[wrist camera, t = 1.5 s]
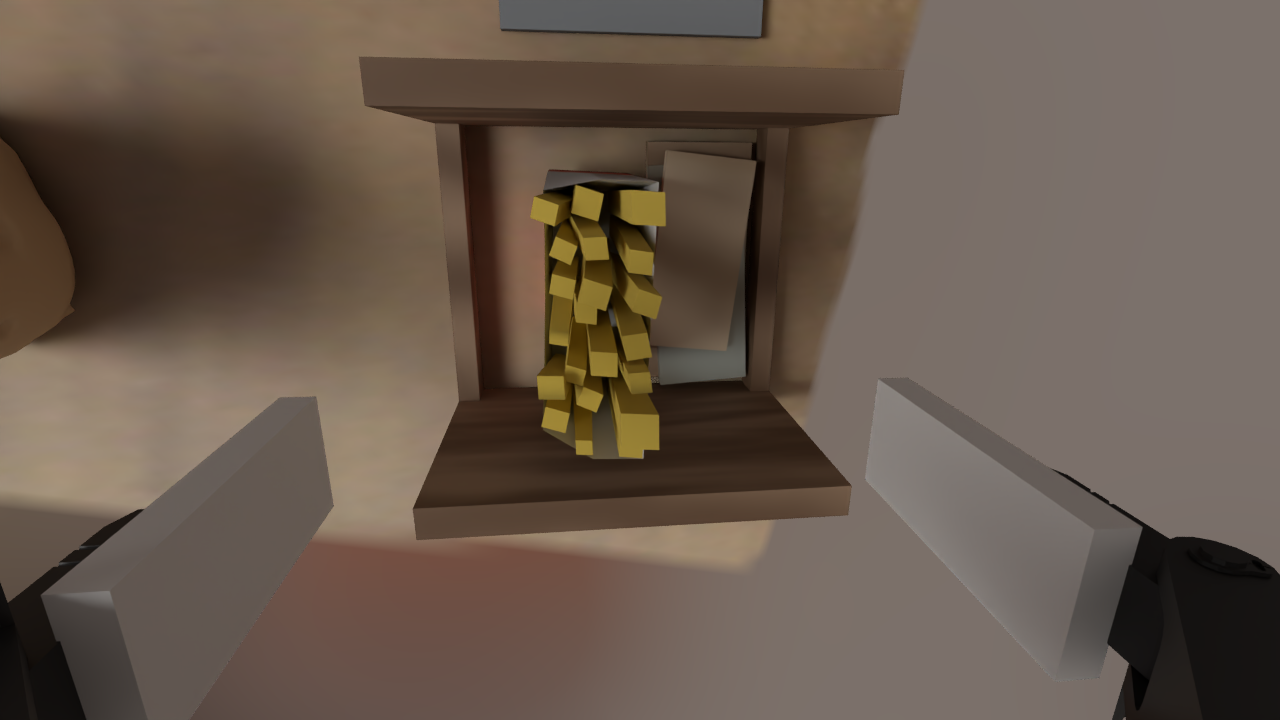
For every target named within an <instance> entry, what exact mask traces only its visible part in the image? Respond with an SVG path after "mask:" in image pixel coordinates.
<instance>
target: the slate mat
mask: <svg viewBox="0 0 1280 720" xmlns="http://www.w3.org/2000/svg"><path fill="white" fill-rule="evenodd" d="M499 10H500V28H501V30H502V31H526V32H560V33H593V34H627V35H660V36H693V37H727V38H759V37H761V28H762V11H763V0H499Z"/></svg>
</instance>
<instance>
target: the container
mask: <svg viewBox="0 0 1280 720" xmlns="http://www.w3.org/2000/svg"><path fill="white" fill-rule="evenodd" d="M74 288H75V269H74V266H73V259H72V257H71V254H70V251H69V247H68V245H67V242H66V239H65V237H64V235H63V233H62V231H61V228H60V226H59V225H58V223H57V221H56V220H55V218H54V217H53V215H52V214H51V212H50V211H49V210H48V208H47V207H46V206H45V205H44V203H43V202H42V200H41V198H40V196H39V194H38V192H37V190H36V188H35V186H34V184H33V182H32V180H31V178H30V177H29V175H28V173H27V171H26V169H25V167H24V166H23V164H22V163H21V161H20V159H19V157H18V155H17V153H16V152H15V151H14V150H13V149H12V148H11V147H10V146H9V145H7V144H6V143H5V142H4V141H3V140H2V139H1V138H0V359H1V358H3V357H6V356H9V355H11V354H13V353H16V352H17V351H19V350H20V349H22V348H23V347H25V346H26V345H28V344H29V343H31V342H32V341H33V340H34V339H36V338H38V337H39V336H41V335H42V334H44V333H45V332H47V331H48V330H50V329H51V328H53V327H54V326H56V325H57V324H58V323H59V322H60V321H61V320H62V318H64V317H66V316H68V315H69V314H71V313H73V312H74V311H75V310H74V309H73V307H72V306H71V305H70V302H71V299H72V296H73V292H74Z"/></svg>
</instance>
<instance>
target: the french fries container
mask: <svg viewBox="0 0 1280 720" xmlns="http://www.w3.org/2000/svg"><path fill="white" fill-rule="evenodd" d="M658 190H659V182H657V181H653V180H649V179H646V178H642V177H638V176H635V175H631V174H627V173H611V172H590V171H570V170H549V171H548V173H547V177H546V182H545V186H544V190H543V193H544V194H542V195H538V196H534V200H533V206H532V211H531V216H530V218H532V219H535V220H538V221H540V222H543V223H544V229H545V364H544V368H543V369H542V370H541V372H540V373H539V374H538V375H537V384H538V397H539V399H541V400H544V405H543V422H542V426H541V427H543V430H544V431H545V432H547V433H549V434H551V435H552V436H554V437H556V438H558V439H559V440H561V441H563V442H564V443H566V444H568V445H570V446H571V447H573V448H575V449H576V455H587V456H589V457H590V458H592V459H643V457H644V450H659V414H658V412H657V410H656V408H655V407H654V405H653V403H652V401H651V399H650V397H649V396H648V394H647V393H653V391H652V384H651V377H650V371H649V370H648V368H649V358H650V357H652V353H651V349H650V332H651V318H653V319H656V318H657V314H658V311H659V307H660V304H661V300H662V296H661V295H660V294H659V293H658V292H657V290H656V289H655V288H654V287H653V279H654V261H655V244H656V226H666V208H665V192H658Z"/></svg>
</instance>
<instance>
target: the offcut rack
mask: <svg viewBox="0 0 1280 720" xmlns="http://www.w3.org/2000/svg"><path fill="white" fill-rule="evenodd" d="M359 61H360V69H361V78H362V86H363V94H364V103H365V106H368V107H372V108H376V109H380V110H384V111H388V112H392V113H396V114H400V115H404V116H408V117H412V118H416V119H419V120H423V121H427V122H431V123H435V131H436V142H437V154H438V165H439V177H440V188H441V199H442V211H443V222H444V234H445V245H446V256H447V268H448V279H449V291H450V302H451V313H452V325H453V336H454V348H455V359H456V370H457V382H458V393H459V403H458V405H457V408H456V410H455V412H454V415H453V417H452V419H451V422H450V424H449V426H448V429H447V431H446V433H445V436H444V438H443V440H442V443H441V445H440V447H439V449H438V452H437V454H436V456H435V459H434V461H433V463H432V466H431V468H430V470H429V473H428V475H427V477H426V480H425V482H424V484H423V487H422V489H421V491H420V494H419V496H418V498H417V500H416V503H415V505H414V507H413V514H414V522H415V531H416V539H417V540H426V539H444V538H461V537H478V536H496V535H513V534H530V533H548V532H565V531H583V530H600V529H617V528H635V527H652V526H669V525H687V524H704V523H721V522H739V521H756V520H773V519H789V518H790V519H791V518H808V517H825V516H843V515H848V511H849V503H850V495H851V488H852V486H851V484H850V483H849V482H848V481H847V480H846V479H845V478H844V476H843V475H842V474H841V473H840V472H839V471H838V470H837V469H836V467H835V466H834V465H833V464H832V463H831V462H830V460H829V459H828V458H827V457H826V456H825V455H824V453H823V452H822V451H821V450H820V449H819V448H818V447H817V445H816V444H815V443H814V442H813V441H812V440H811V439H810V437H808V435H807V434H806V433H805V432H804V430H803V429H802V428H801V427H800V426H799V425H798V424H797V422H796V421H795V420H794V419H793V418H792V417H791V416H790V414H789V413H788V412H787V411H786V410H785V409H784V408H783V406H782V405H781V404H780V403H779V402H778V401H777V399H776V398H775V397H774V396H773V395H772V394H771V393H770V391H769V384H770V371H771V358H772V345H773V332H774V319H775V306H776V293H777V280H778V267H779V253H780V240H781V227H782V214H783V201H784V188H785V175H786V162H787V149H788V136H789V128H795V127H803V126H811V125H819V124H827V123H835V122H843V121H850V120H858V119H866V118H874V117H882V116H890V115H898V114H899V108H900V100H901V92H902V85H903V77H904V70H877V69H837V68H796V67H756V66H716V65H675V64H635V63H594V62H554V61H514V60H473V59H433V58H392V57H359ZM464 126H539V127H614V128H689V129H757V144H756V160H755V161H752V160H751V153H752V143H732V142H646V179H649V180H653V181H657V182H659V190H658V192H665V208H666V226H656V244H655V261H654V279H653V287H654V288H655V289H656V290H657V292H658V293H659V294H660V295H661V296H662V300H661V304H660V307H659V311H658V314H657V318H656V319H653V318H651V332H650V349H651V353H652V357H650V358H649V368H648V370H649V371H650V377H659V382H660V383H654V384H652V391H653V393H647V394H648V396H649V397H650V399H651V401H652V403H653V405H654V407H655V408H656V410H657V412H658V414H659V450H644V457H643V459H592V458H590V457H589V456H587V455H576V449H575V448H573V447H571V446H570V445H568V444H566V443H564V442H563V441H561V440H559V439H558V438H556V437H554V436H552V435H551V434H549V433H547V432H545V431H544V430H543V427H541V426H542V422H543V405H544V400H541V399H539V397H538V387H529V388H498V389H484V383H483V370H482V356H481V343H480V329H479V316H478V302H477V289H476V275H475V262H474V248H473V235H472V221H471V208H470V194H469V181H468V167H467V154H466V141H465V127H464ZM754 175H755V176H754ZM753 181H754V193H753V209H752V225H751V241H750V257H749V273H748V290H747V306H746V322H745V253H746V236H747V220H748V212H749V206H750V200H751V194H752V187H753ZM737 377H742V381H716V382H696V381H706V380H716V379H727V378H737Z"/></svg>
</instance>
